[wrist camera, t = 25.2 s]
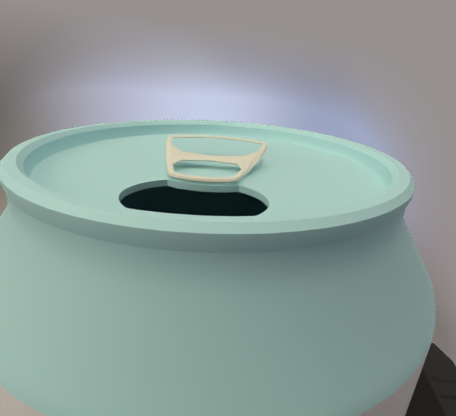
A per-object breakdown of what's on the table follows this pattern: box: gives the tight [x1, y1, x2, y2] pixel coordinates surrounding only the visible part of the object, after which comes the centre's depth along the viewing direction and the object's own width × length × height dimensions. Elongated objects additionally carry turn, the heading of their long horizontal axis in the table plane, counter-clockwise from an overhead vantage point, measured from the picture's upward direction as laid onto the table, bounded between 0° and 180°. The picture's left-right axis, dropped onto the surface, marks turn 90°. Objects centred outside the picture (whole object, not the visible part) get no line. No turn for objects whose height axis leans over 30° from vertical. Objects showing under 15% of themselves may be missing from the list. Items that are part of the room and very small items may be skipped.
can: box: [0, 120, 436, 416], centre depth 8 cm, size 7×7×12 cm
